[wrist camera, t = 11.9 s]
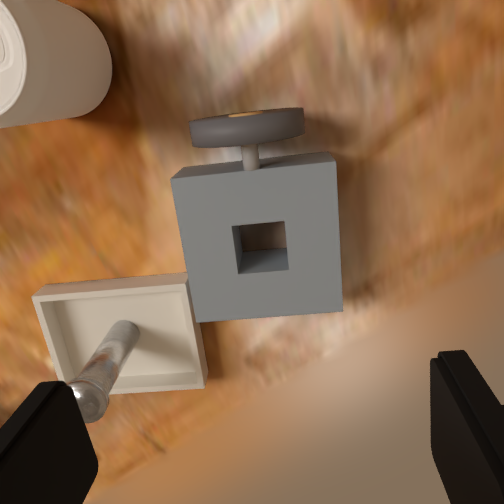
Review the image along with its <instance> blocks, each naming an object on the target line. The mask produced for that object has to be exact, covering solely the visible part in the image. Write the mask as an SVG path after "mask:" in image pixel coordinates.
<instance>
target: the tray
mask: <svg viewBox="0 0 504 504" xmlns="http://www.w3.org/2000/svg"><path fill="white" fill-rule="evenodd" d="M31 297H32V300H33V303H34V306H35V309H36V312H37V315H38V319H39V322H40V325H41V328H42V331H43V334H44V337H45V340H46V343H47V346H48V349H49V352H50V355H51V358H52V362H53V365H54V368H55V371H56V374H57V377H58V380H59V381H64V382H65V383H67V382H69V381H70V380H72V379H74V378H77V377H78V375H79V374H80V372H81V371H82V369H83V368H84V366H85V365H86V363H87V362H88V361H89V359H90V358H91V356H92V355H93V353H94V352H95V350H96V349H97V347H98V346H99V344H100V343H101V342H102V340H103V339H104V337H105V336H106V334H107V333H108V331H109V330H110V328H111V327H112V326H113V324H114V323H115V322H117V321H120V320H128V321H130V322H132V323H134V324H135V325H136V326H137V327H138V329H139V331H140V337H139V340H138V341H137V343H136V345H135V347H134V349H133V351H132V352H131V354H130V356H129V358H128V360H127V361H126V363H125V365H124V367H123V369H122V371H121V372H120V374H119V376H118V378H117V380H116V382H115V383H114V385H113V387H112V389H111V391H110V393H109V394H122V393H138V392H154V391H170V390H186V389H202V388H205V385H206V381H207V376H208V367H207V361H206V355H205V350H204V344H203V339H202V333H201V328H200V322H199V323H196V318H195V313H194V307H193V302H192V296H191V291H190V285H189V280H188V274H187V272H184V273H173V274H161V275H150V276H138V277H127V278H115V279H104V280H92V281H81V282H69V283H58V284H46V285H44V286H43V287H42V288H41V289H40V290H38V291H37V292H36V293H35V294H34V295H33V296H31Z"/></svg>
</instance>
